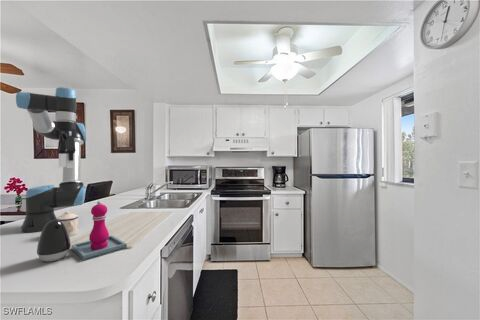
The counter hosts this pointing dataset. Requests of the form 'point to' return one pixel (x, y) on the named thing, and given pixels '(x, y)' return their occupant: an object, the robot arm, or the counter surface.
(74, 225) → the teacup with lid
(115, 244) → the tray
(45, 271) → the counter surface
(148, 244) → the counter surface
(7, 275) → the counter surface
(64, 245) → the black rounded piece
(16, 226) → the counter surface
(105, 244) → the pepper mill
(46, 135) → the robot arm
